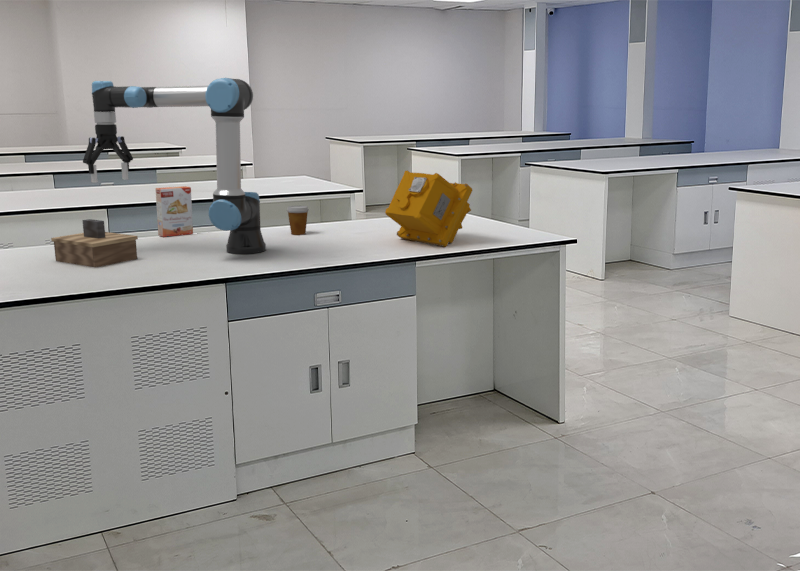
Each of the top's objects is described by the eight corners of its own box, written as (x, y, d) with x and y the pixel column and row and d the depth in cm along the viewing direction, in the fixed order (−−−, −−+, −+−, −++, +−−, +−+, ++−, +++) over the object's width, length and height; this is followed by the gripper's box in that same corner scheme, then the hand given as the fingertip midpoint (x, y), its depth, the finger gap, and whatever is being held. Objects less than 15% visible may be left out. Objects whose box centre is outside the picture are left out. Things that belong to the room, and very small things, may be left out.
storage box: (137, 260, 284) (135, 239, 282) (95, 269, 269) (93, 246, 267) (98, 255, 295) (96, 234, 293) (55, 263, 280) (53, 241, 279)
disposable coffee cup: (313, 233, 344) (312, 206, 341) (299, 236, 336) (299, 208, 333) (297, 231, 349) (296, 204, 346) (283, 234, 341) (282, 207, 338)
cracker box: (163, 237, 334) (160, 188, 329) (158, 235, 338) (154, 187, 333) (194, 234, 342) (191, 186, 338) (188, 232, 347) (185, 185, 342)
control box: (458, 257, 316) (413, 222, 297) (413, 248, 336) (368, 215, 317) (485, 198, 321) (442, 160, 301) (439, 193, 341) (396, 157, 321)
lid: (138, 241, 283) (136, 219, 281) (93, 250, 267) (91, 226, 265) (96, 236, 294) (94, 214, 293) (51, 244, 279) (49, 221, 277)
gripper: (127, 123, 301) (131, 178, 306) (69, 124, 281) (74, 183, 286) (139, 123, 297) (143, 179, 302) (81, 124, 277) (87, 184, 282)
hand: (110, 181), depth 294 cm, fingers open, 13 cm apart
